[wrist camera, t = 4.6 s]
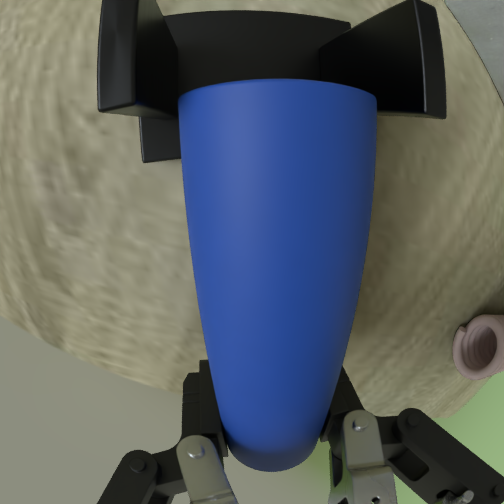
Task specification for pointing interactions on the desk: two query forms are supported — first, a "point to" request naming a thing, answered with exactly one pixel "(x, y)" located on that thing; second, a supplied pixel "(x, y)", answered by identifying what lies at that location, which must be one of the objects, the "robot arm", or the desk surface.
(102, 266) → the desk surface
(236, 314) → the tube
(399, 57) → the bracket
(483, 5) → the planter
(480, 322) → the coil
